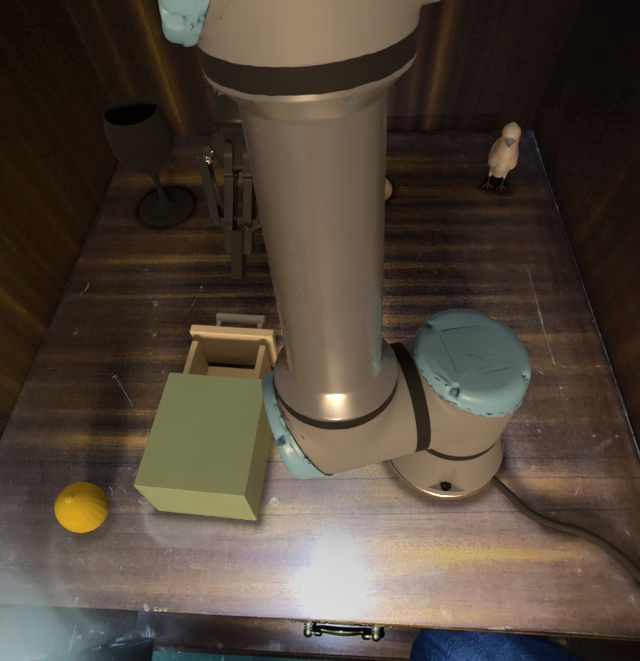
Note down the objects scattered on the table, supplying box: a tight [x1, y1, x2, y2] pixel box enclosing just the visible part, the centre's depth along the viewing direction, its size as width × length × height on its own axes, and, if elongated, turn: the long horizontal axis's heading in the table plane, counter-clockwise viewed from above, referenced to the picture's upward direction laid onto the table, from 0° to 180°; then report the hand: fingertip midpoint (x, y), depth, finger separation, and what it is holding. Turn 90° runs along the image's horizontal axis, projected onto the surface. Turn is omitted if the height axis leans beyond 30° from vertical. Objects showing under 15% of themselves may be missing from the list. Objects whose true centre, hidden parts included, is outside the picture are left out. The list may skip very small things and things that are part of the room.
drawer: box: [182, 312, 279, 379], centre depth 71 cm, size 18×11×8 cm, turn 174°
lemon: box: [53, 481, 110, 534], centre depth 62 cm, size 6×6×8 cm
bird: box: [481, 121, 522, 192], centre depth 91 cm, size 5×14×15 cm, turn 163°
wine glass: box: [102, 94, 195, 227], centre depth 90 cm, size 10×10×20 cm
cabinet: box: [133, 372, 273, 522], centre depth 65 cm, size 15×13×10 cm
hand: (238, 278), depth 72 cm, fingers closed
